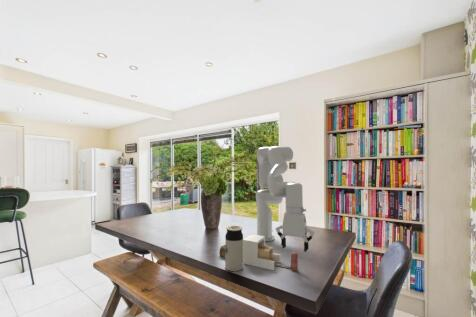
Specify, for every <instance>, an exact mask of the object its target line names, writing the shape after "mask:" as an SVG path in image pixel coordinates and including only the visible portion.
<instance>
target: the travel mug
mask: <svg viewBox="0 0 476 317" xmlns="http://www.w3.org/2000/svg"><path fill="white" fill-rule="evenodd" d="M225 229H226V233H225V244H224V245H225V257H224V258H225V259H224V260H225V264H224V265H225V267H224V268H225V269H226V270H227V271H230V272H238V271H240V270H242V269H243V268H244V263H243V240H244V234H243V232H242V230H243V227H242V226H240V225H229V226H226V228H225Z"/></svg>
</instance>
